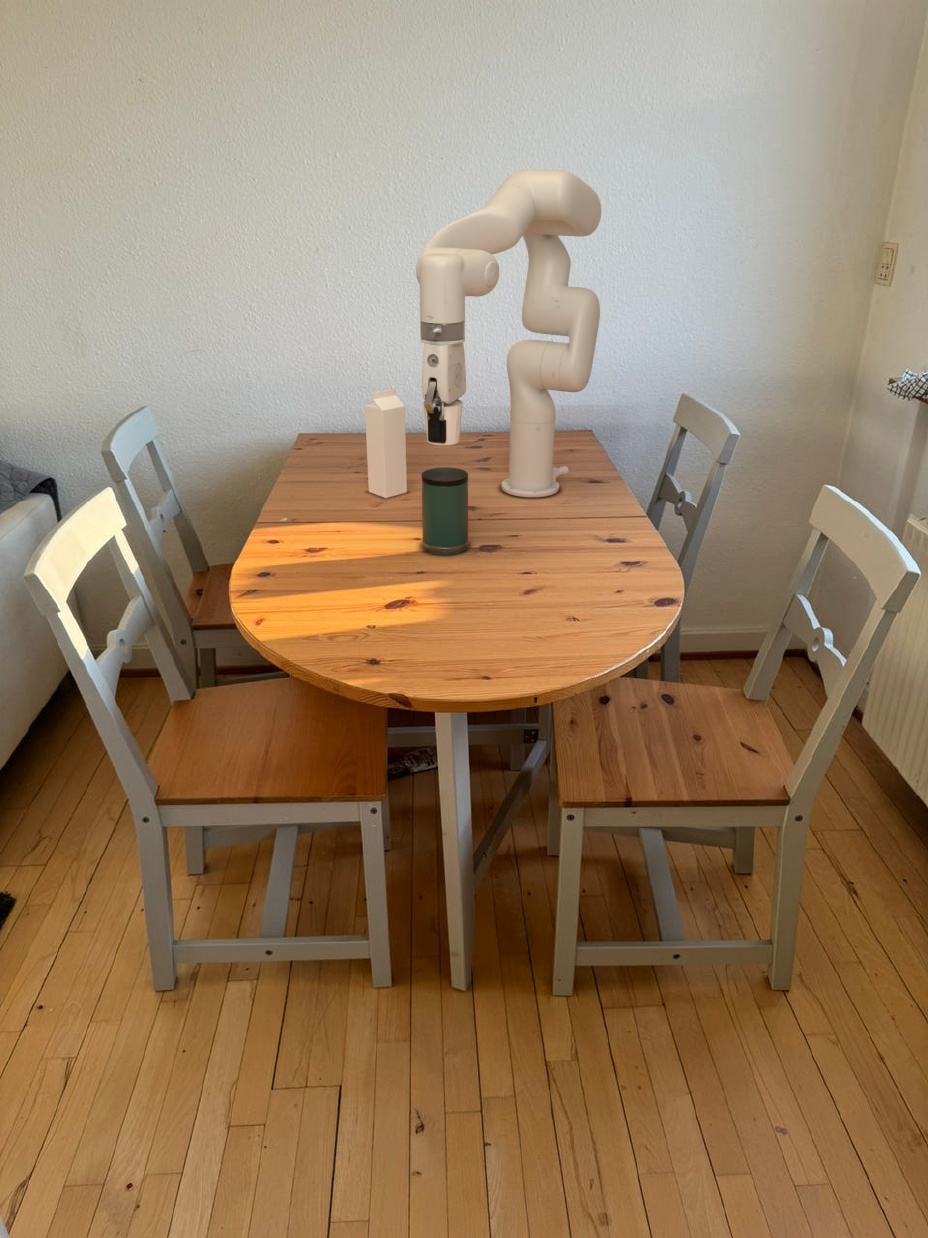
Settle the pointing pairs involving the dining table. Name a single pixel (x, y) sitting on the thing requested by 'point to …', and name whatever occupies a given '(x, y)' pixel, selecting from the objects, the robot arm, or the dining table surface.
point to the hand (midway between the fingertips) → (443, 436)
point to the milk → (386, 444)
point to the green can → (445, 510)
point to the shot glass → (449, 421)
